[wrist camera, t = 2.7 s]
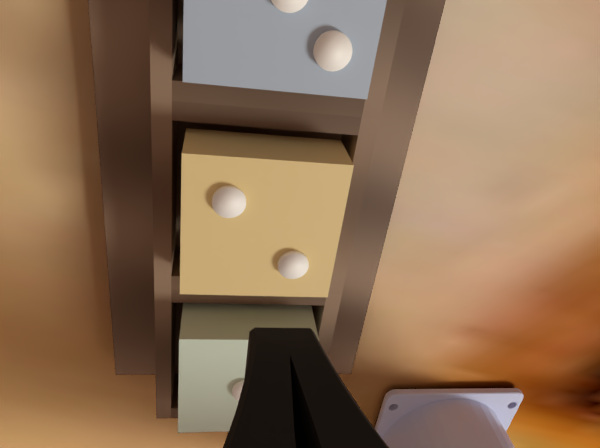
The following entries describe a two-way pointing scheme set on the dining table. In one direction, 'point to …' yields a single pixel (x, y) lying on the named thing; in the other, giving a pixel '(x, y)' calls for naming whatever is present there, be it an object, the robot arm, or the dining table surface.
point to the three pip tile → (283, 44)
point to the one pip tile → (222, 357)
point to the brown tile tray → (246, 119)
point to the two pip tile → (260, 213)
